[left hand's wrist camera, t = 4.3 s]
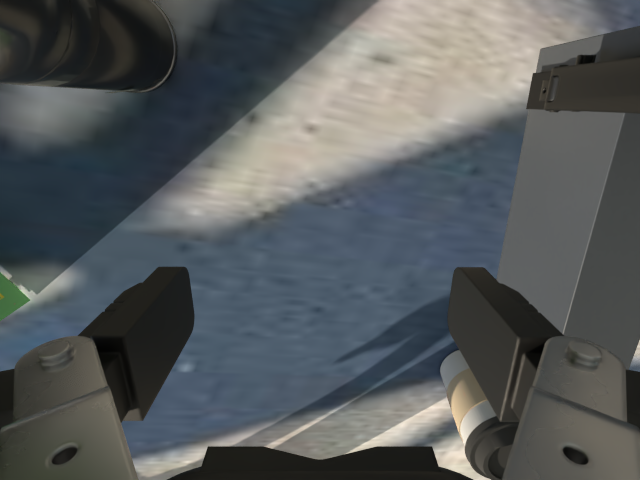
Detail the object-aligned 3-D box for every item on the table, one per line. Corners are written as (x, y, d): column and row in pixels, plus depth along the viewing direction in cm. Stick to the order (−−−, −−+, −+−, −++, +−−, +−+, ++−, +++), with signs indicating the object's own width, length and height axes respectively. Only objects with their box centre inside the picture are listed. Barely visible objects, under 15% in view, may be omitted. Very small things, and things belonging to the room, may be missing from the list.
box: (545, 310, 39) (624, 383, 29) (490, 310, 39) (549, 383, 29) (611, 48, 30) (757, 23, 20) (540, 48, 30) (649, 23, 20)
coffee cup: (500, 385, 53) (565, 486, 39) (439, 399, 54) (480, 503, 40) (492, 334, 50) (558, 424, 36) (426, 350, 51) (467, 444, 37)
